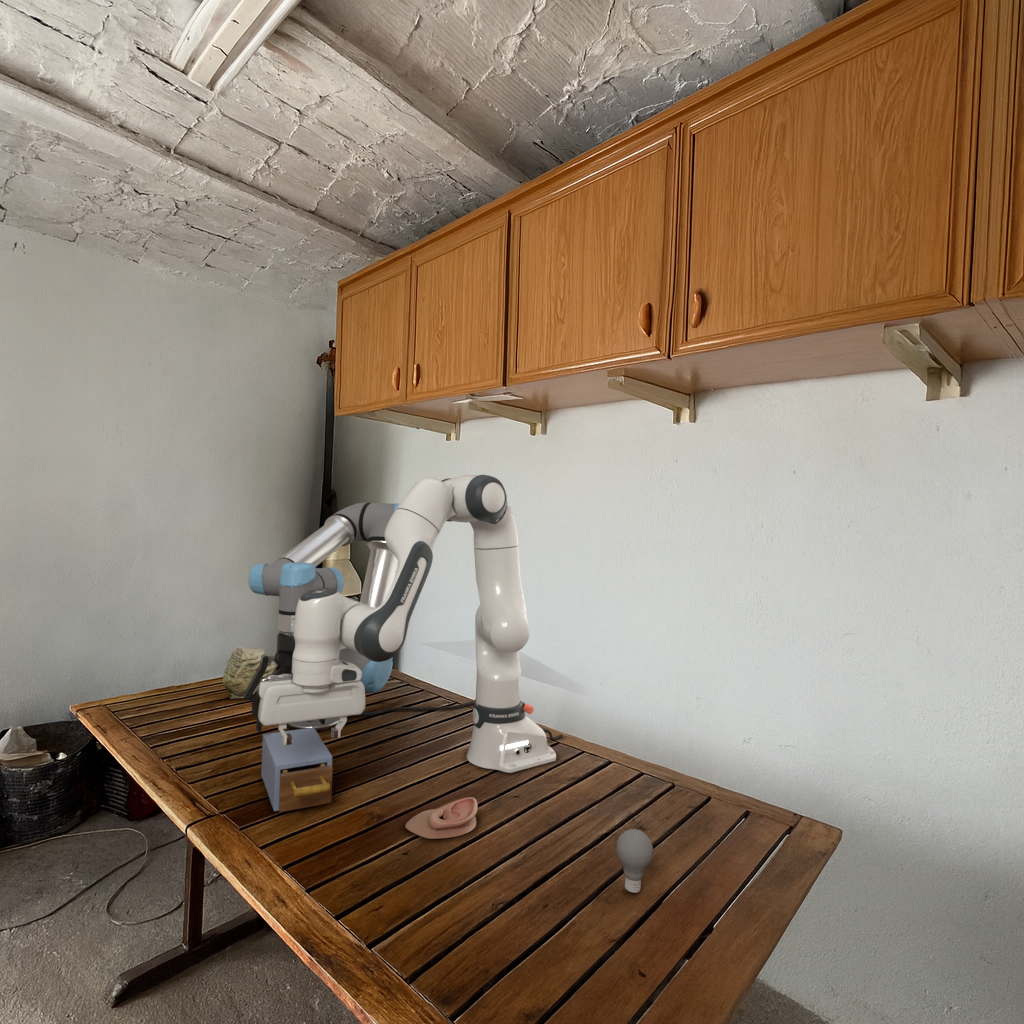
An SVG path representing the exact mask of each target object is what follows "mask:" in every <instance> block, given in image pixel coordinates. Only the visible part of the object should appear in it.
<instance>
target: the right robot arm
mask: <svg viewBox="0 0 1024 1024" xmlns="http://www.w3.org/2000/svg"><path fill="white" fill-rule="evenodd" d="M398 504H399V505H398V507H397V508H396V510H395V512H394V513H393V515H392V516H391V518H390V520H389V522H388V524H387V527H386V530H385V533H384V536H385V541H386V544H387V547H388V549H389V550H390V552H391V553H392V554H393V555H394V556H395V557H396V558H397V560H398V563H399V566H398V571H397V574H396V576H395V579H394V581H393V583H392V585H391V588H390V590H389V592H388V594H387V597H386V599H385V601H384V602H383V604H381V605H380V606H379V607H377V608H376V607H372V606H369V605H366V604H363V603H360V601H356V600H353V599H351V598H349V597H347V596H345V595H343V594H342V593H339V592H338V591H337V590H336V589H332V588H322V589H321V588H319V589H314V590H310V591H308V592H306V593H304V594H303V595H302V596H301V597H300V599H299V601H298V604H297V608H296V613H295V622H294V639H295V649H294V652H293V657H292V673H289V674H285V673H283V674H281V675H269V676H267V678H265V679H263V680H262V681H261V682H260V684H259V691H258V694H259V697H260V698H261V699H260V704H259V710H258V719H259V721H260V722H261V723H262V726H264V727H269V726H276V727H277V729H278V730H279V731H278V732H281V734H282V744H283V746H286V745H291V744H292V742H291V740H292V736H291V734H290V733H288V734H286V733H285V731H286V730H285V729H287V728H288V727H287V723H294V722H302V721H310V720H318V719H326V718H334V717H337V718H338V719H339V721H338V723H337V725H336V727H334V728H331V729H330V731H331V733H330V737H331V739H332V740H334V739H335V740H336V739H341V733H342V732H341V731H342V730H343V728H344V727H345V725H346V723H347V721H348V717H351V716H360V715H359V714H362V712H363V713H364V711H365V710H366V692H365V688H364V685H363V683H362V682H361V681H360V680H361V678H362V671H361V670H360V669H359V668H358V667H357V666H356V665H354V664H353V663H350V662H346V661H342V660H339V652H340V650H341V649H346V648H347V649H349V650H351V651H354V652H357V653H359V654H361V655H363V656H364V657H366V658H368V659H370V660H372V661H375V662H383V661H386V660H389V659H391V658H392V657H393V658H394V657H395V656H396V655H397V654H398V653H399V652H400V651H401V649H402V648H403V646H404V644H405V641H406V638H407V633H408V629H409V625H410V620H411V617H412V615H413V612H414V611H415V607H416V605H417V603H418V600H419V598H420V595H421V593H422V590H423V589H424V586H425V583H426V581H427V578H428V576H429V574H430V571H431V567H432V564H433V559H434V554H433V548H434V546H435V543H436V541H437V539H438V537H439V535H440V533H441V531H442V529H443V527H444V526H445V524H446V522H451V523H452V522H456V523H469V524H470V526H471V528H472V531H473V555H474V569H475V570H474V571H475V583H476V586H477V591H478V598H479V603H480V604H479V606H478V607H477V609H476V611H475V615H474V632H475V634H474V635H475V636H474V637H475V658H476V678H475V681H476V683H475V699H474V700H473V701H474V704H473V706H472V707H473V708H472V724H473V727H472V733H471V739H470V743H469V746H468V750H467V753H466V759H467V761H468V762H469V763H471V764H472V765H474V766H476V767H479V768H483V769H488V770H496V771H500V772H503V773H508V774H512V773H517V772H519V771H524V770H527V769H530V768H535V767H537V766H538V767H539V766H541V765H547V764H550V763H553V762H556V761H557V754H556V753H557V752H556V751H555V750H554V749H553V748H552V746H550V745H549V744H548V738H547V735H546V734H548V737H549V739H550V740H551V741H558V740H559V739H561V738H563V734H562V733H561V734H559V735H557V736H555V737H554V736H553V734H552V731H550V730H549V729H546V728H544V727H542V726H540V725H538V723H536V722H534V721H533V720H532V719H531V718H529V717H528V716H527V714H528V715H531V714H533V713H534V710H535V709H534V706H532V705H531V704H529V703H526V702H524V701H523V700H521V683H522V682H521V681H522V669H521V662H520V661H521V660H520V654H519V651H520V650H522V649H523V648H524V647H525V646H526V645H527V643H528V641H529V639H530V635H531V634H530V633H531V632H530V631H531V630H530V625H529V621H528V613H527V605H526V599H525V595H524V589H523V583H522V577H521V564H520V563H521V562H520V548H519V547H520V546H519V537H518V530H517V525H516V524H517V523H516V520H515V515H514V511H513V509H512V508H511V507H510V506H509V505H508V495H507V492H506V489H505V487H504V485H503V483H502V482H501V480H499V479H498V478H496V477H495V476H492V475H488V474H478V475H476V474H465V475H461V476H457V477H452V478H444V479H442V480H440V479H438V478H435V477H423V478H420V479H419V480H418V481H416V483H414V485H413V486H412V487H411V488H410V489H409V491H407V493H406V494H405V495H404V496H403V498H402V500H400V502H399V503H398ZM265 680H267V681H265Z"/></svg>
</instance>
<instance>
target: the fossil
mask: <svg viewBox="0 0 1024 1024" xmlns="http://www.w3.org/2000/svg"><path fill="white" fill-rule="evenodd" d="M263 654H266V655H267V656H269V655H268V654H267V653H266V652H265V650H264V649H263V648H260V647H258V648H251V647H247V646H246V647H245V646H238V647H237V648H236V649H235V650H233V651H232V653H231V656H230V657H229V659H228V660H227V663H226V666H225V668H224V671H223V675H222V676H223V677H222V685H223V687H224V688H225V690H226V691H228V693H229V698H230V699H245V698H244V695H243V694H244V692H245V690H246V688H247V687H248V685H249V683H250V681H251V679H252V678H253V676H254V674H255V672H256V670H257V669H258V667H259V665H260V661H261V656H262V655H263ZM276 667H277V664H276V663H275V661H273V662H272V663H271V665H269V666H267V669H266V671H265V673H264V674H263V676H262V678H261V680H260V682H261V681H262V680H263V679H265V678H267V676H269V675H271V674H272V672H273V671H274V669H275V668H276ZM260 682H259V684H260ZM259 684H258V685H257V687H256V689H255V691H254V693H255V692H256V691H257V689H258V688H259ZM254 693H253V694H254Z"/></svg>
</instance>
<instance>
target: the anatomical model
mask: <svg viewBox="0 0 1024 1024" xmlns="http://www.w3.org/2000/svg"><path fill="white" fill-rule="evenodd" d="M478 805H479V804H478V801H477V799H476V798H475V797H471V796H469V797H464V798H460V799H457V800H454V801H452V802H449V803H446V804H444V805H442V806H440V807H437V808H435V809H427V810H424V811H421V812H419V813H417V814H416V815H413V816H412V817H411V818H410V819H409V820H408V821H407V822H406V823H405V825H404V827H405V829H406V830H408V831H409V832H411V833H413V834H415V835H416V836H418V837H422V838H424V839H427V840H428V839H430V840H437V839H438V840H439V839H449V838H455V837H459V836H463V835H466V834H468V833H470V832H472V831H473V830H474V829H475V828H476V826H477V818H476V815H477V813H478V807H479V806H478Z"/></svg>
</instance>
